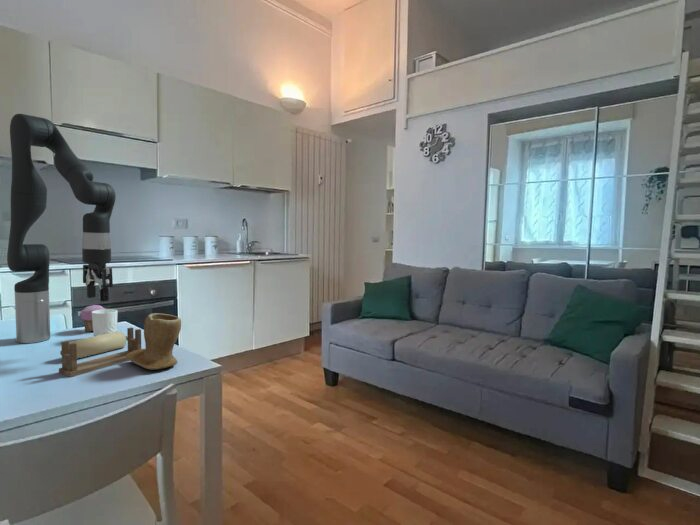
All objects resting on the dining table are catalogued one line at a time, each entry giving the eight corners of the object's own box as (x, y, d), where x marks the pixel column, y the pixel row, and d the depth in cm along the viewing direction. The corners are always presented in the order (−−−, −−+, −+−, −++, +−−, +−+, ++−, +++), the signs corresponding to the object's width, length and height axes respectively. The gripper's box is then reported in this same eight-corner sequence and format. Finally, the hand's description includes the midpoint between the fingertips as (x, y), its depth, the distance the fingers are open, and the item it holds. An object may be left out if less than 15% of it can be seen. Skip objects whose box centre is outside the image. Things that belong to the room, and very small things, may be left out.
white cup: (106, 342, 137) (105, 314, 137) (86, 340, 139) (85, 312, 138) (123, 336, 145) (122, 309, 144) (104, 335, 147) (104, 308, 146)
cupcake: (101, 327, 158) (101, 302, 157) (112, 330, 153) (111, 304, 152) (76, 331, 151) (75, 305, 150) (86, 335, 146) (85, 308, 145)
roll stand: (58, 372, 108) (57, 342, 108) (132, 353, 127) (131, 326, 126) (70, 377, 106) (70, 345, 105) (144, 356, 124) (143, 329, 123)
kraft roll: (56, 360, 118) (56, 342, 118) (121, 344, 136) (121, 328, 135) (67, 364, 116) (66, 345, 115) (131, 347, 133) (131, 331, 133)
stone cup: (188, 365, 117) (188, 315, 116) (147, 376, 108) (146, 321, 107) (164, 354, 127) (164, 307, 125) (124, 363, 118) (123, 313, 116)
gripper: (72, 246, 124) (74, 297, 125) (94, 248, 116) (95, 304, 117) (99, 245, 130) (99, 295, 131) (121, 248, 122) (121, 300, 123)
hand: (97, 299), depth 124 cm, fingers open, 8 cm apart
